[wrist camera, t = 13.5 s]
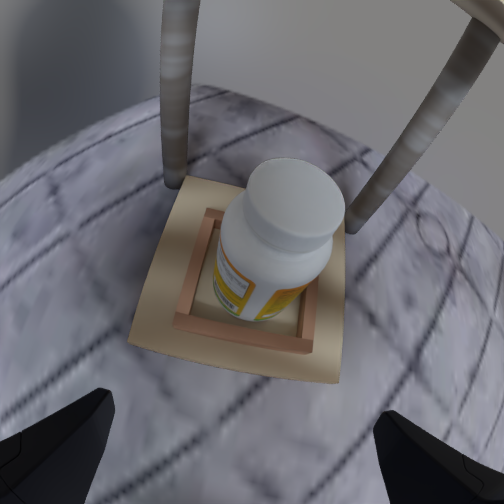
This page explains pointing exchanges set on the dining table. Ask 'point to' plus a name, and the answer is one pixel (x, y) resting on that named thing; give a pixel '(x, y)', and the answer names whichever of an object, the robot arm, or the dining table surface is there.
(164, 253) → the wood and grey frame
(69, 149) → the dining table surface
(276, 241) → the supplement bottle
